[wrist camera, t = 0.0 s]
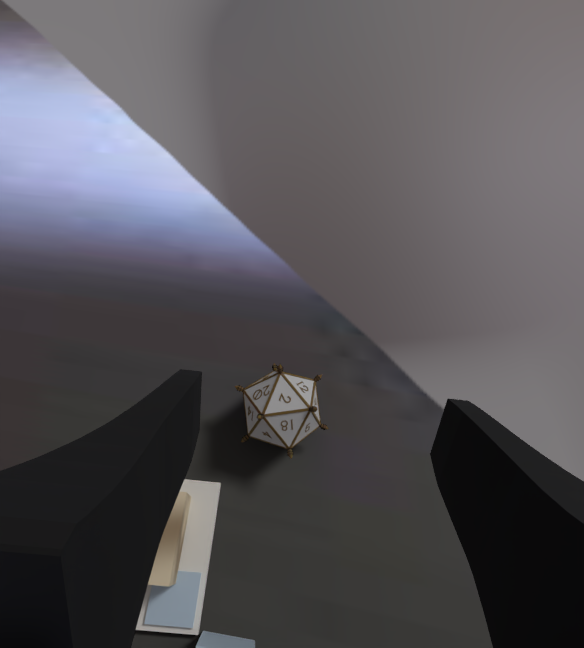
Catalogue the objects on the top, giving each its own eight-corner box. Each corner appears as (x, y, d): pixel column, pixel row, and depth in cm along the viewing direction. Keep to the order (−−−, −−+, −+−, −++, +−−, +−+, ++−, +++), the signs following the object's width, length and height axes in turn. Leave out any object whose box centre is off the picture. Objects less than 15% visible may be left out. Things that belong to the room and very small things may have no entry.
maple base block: (175, 583, 37) (169, 586, 34) (93, 576, 37) (79, 578, 34) (191, 496, 40) (186, 492, 37) (116, 489, 40) (105, 484, 37)
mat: (198, 633, 36) (197, 635, 36) (54, 621, 36) (50, 623, 35) (221, 483, 42) (220, 482, 41) (95, 470, 41) (92, 469, 40)
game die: (269, 441, 47) (218, 468, 38) (260, 363, 48) (208, 372, 39) (347, 438, 44) (312, 468, 35) (336, 355, 44) (299, 363, 35)
